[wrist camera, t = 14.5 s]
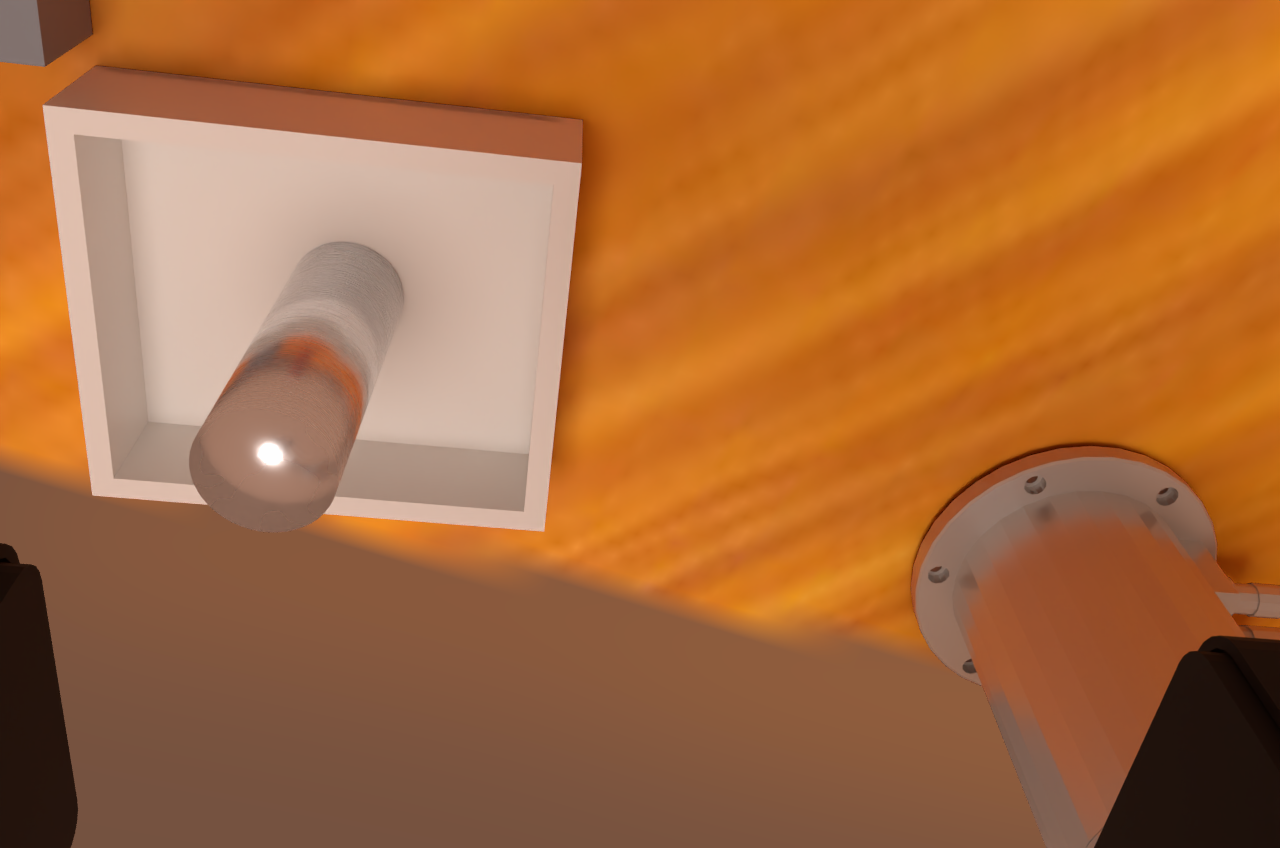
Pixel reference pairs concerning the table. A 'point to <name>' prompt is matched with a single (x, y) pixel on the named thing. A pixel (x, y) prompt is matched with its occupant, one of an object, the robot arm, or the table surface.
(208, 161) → the tray
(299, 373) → the pin
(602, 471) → the table surface
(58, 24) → the block
